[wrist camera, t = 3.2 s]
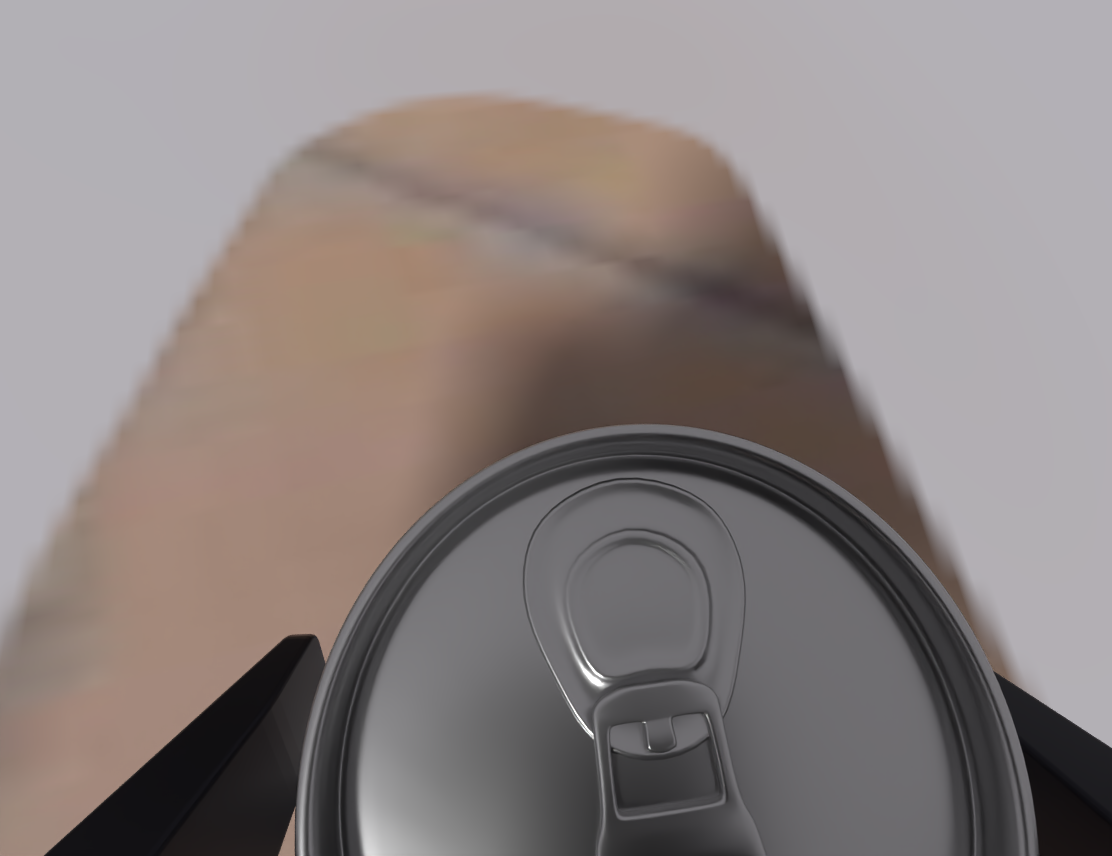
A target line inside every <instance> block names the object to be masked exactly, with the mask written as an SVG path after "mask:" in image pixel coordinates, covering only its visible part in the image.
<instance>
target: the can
mask: <svg viewBox="0 0 1112 856" xmlns="http://www.w3.org/2000/svg"><path fill="white" fill-rule="evenodd" d="M295 856H1039V846H1038V835H1037V826H1036V817H1035V811H1034V804H1033V798H1032V793H1031V788H1030V782H1029V777H1028V773H1027V769H1026V765H1025V760H1024V756H1023V753H1022V749H1021V746H1020V742H1019V738H1018V735H1017V732H1016V729H1015V726H1014V723H1013V720H1012V717H1011V714H1010V711H1009V709H1008V706H1007V703H1006V700H1005V698H1004V695H1003V693H1002V690H1001V688H1000V686H999V683H998V681H997V679H996V676H995V674H994V672H993V670H992V668H991V665H990V663H989V661H988V659H987V657H986V655H985V653H984V651H983V649H982V647H981V645H980V644H979V642H978V640H977V638H976V637H975V635H974V633H973V631H972V629H971V628H970V626H969V624H968V623H967V621H966V619H965V618H964V616H963V615H962V613H961V611H960V610H959V608H958V607H957V605H956V604H955V602H954V601H953V599H952V598H951V596H950V595H949V594H948V592H947V591H946V589H945V588H944V587H943V585H942V584H941V583H940V581H939V580H938V579H937V577H936V576H935V575H934V574H933V572H932V571H931V570H930V568H929V567H928V566H927V565H926V564H925V563H924V561H923V560H922V559H921V558H920V557H919V556H918V554H917V553H916V552H915V551H914V550H913V549H912V548H911V547H910V546H909V545H908V544H907V542H906V541H905V540H904V539H903V538H902V537H901V536H900V535H899V534H898V533H897V532H896V531H895V530H894V529H893V528H891V527H890V526H889V525H888V524H887V523H886V522H885V521H884V520H883V519H882V518H881V517H879V516H878V515H877V514H876V513H875V512H874V511H872V510H871V509H870V508H869V507H868V506H866V505H865V504H864V503H863V502H861V501H860V500H859V499H857V498H856V497H855V496H854V495H852V494H851V493H849V492H848V491H847V490H845V489H844V488H842V487H841V486H839V485H838V484H836V483H835V482H833V481H832V480H830V479H829V478H827V477H825V476H824V475H822V474H820V473H819V472H817V471H815V470H814V469H812V468H810V467H808V466H806V465H805V464H803V463H801V462H799V461H797V460H795V459H793V458H791V457H789V456H787V455H784V454H782V453H780V452H778V451H775V450H773V449H770V448H768V447H765V446H763V445H760V444H757V443H755V442H752V441H749V440H746V439H743V438H739V437H736V436H732V435H729V434H724V433H720V432H716V431H711V430H706V429H701V428H695V427H688V426H679V425H669V424H623V425H612V426H604V427H597V428H591V429H586V430H581V431H577V432H572V433H568V434H564V435H561V436H557V437H554V438H551V439H548V440H545V441H542V442H539V443H536V444H534V445H531V446H529V447H526V448H524V449H521V450H519V451H517V452H515V453H512V454H510V455H508V456H506V457H504V458H502V459H500V460H498V461H496V462H495V463H493V464H491V465H489V466H488V467H486V468H484V469H482V470H481V471H479V472H478V473H476V474H475V475H473V476H471V477H470V478H468V479H467V480H466V481H464V482H463V483H461V484H460V485H458V486H457V487H456V488H454V489H453V490H452V491H450V492H449V493H448V494H447V495H445V496H444V497H443V498H442V499H440V500H439V501H438V502H437V503H436V504H435V505H433V506H432V507H431V508H430V509H429V510H428V511H427V512H426V513H425V514H424V515H422V516H421V517H420V518H419V519H418V520H417V521H416V522H415V523H414V524H413V525H412V526H411V527H410V529H409V530H408V531H407V532H406V533H405V534H404V535H403V536H402V537H401V538H400V540H399V541H398V542H397V543H396V544H395V545H394V547H393V548H392V549H391V550H390V552H389V553H388V554H387V555H386V557H385V558H384V559H383V561H382V562H381V563H380V565H379V566H378V567H377V569H376V570H375V571H374V573H373V574H372V576H371V577H370V579H369V580H368V582H367V583H366V585H365V586H364V588H363V590H362V591H361V593H360V594H359V596H358V598H357V599H356V601H355V603H354V605H353V607H352V608H351V610H350V612H349V614H348V616H347V618H346V620H345V622H344V624H343V625H342V627H341V629H340V631H339V634H338V636H337V638H336V640H335V643H334V645H333V647H332V649H331V652H330V654H329V657H328V659H327V662H326V664H325V667H324V670H323V673H322V676H321V678H320V681H319V684H318V687H317V691H316V694H315V697H314V701H313V704H312V708H311V712H310V716H309V720H308V724H307V728H306V733H305V738H304V742H303V748H302V754H301V760H300V767H299V775H298V783H297V795H296V809H295Z"/></svg>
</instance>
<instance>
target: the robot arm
mask: <svg viewBox="0 0 1112 856" xmlns="http://www.w3.org/2000/svg"><path fill="white" fill-rule="evenodd" d="M324 667H325V660H324V657H323V654H322V650H321V647H320V643H319V640H318V638H317V637H316V636H315V635H313V634H298V635H289V636H287V637H286V638H284V639H283V640H282V641H281V642H280V643H278V644H277V645H276V646H275V647H274V648H273V649H272V650H271V651H270V652H268V653H267V654H266V655H265V656H264V657H263V658H262V659H261V660H260V661H259V662H257V663H256V664H255V665H254V666H253V667H252V668H251V669H250V670H249V671H247V672H246V673H245V674H244V675H243V676H242V677H241V678H240V679H239V680H237V681H236V682H235V683H234V684H233V685H232V686H231V687H230V688H229V689H228V690H226V691H225V692H224V693H223V694H222V695H221V696H220V697H219V698H218V699H216V700H215V701H214V702H213V703H212V704H211V705H210V706H209V707H208V708H207V709H205V710H204V711H203V712H202V713H201V714H200V715H199V716H198V717H197V718H195V719H194V720H193V721H192V722H191V723H190V724H189V725H188V726H187V727H186V728H184V729H183V730H182V731H181V732H180V733H179V734H178V735H177V736H176V737H174V738H173V739H172V740H171V741H170V742H169V743H168V744H167V745H166V746H164V747H163V748H162V749H161V750H160V751H159V752H158V753H157V754H156V755H155V756H153V757H152V758H151V759H150V760H149V761H148V762H147V763H146V764H145V765H143V766H142V767H141V768H140V769H139V770H138V771H137V772H136V773H135V774H134V775H132V776H131V777H130V778H129V779H128V780H127V781H126V782H125V783H124V784H122V785H121V786H120V787H119V788H118V789H117V790H116V791H115V792H114V793H112V794H111V795H110V796H109V797H108V798H107V799H106V800H105V801H104V802H103V803H101V804H100V805H99V806H98V807H97V808H96V809H95V810H94V811H93V812H91V813H90V814H89V815H88V816H87V817H86V818H85V819H84V820H83V821H82V822H80V823H79V824H78V825H77V826H76V827H75V828H74V829H73V830H72V831H70V832H69V833H68V834H67V835H66V836H65V837H64V838H63V839H62V840H61V841H59V842H58V843H57V844H56V845H55V846H54V847H53V848H52V849H51V850H49V851H48V852H47V853H46V854H45V855H44V856H278V855H279V852H280V849H281V846H282V843H283V840H284V837H285V835H286V832H287V829H288V826H289V823H290V820H291V817H292V814H293V812H294V809H295V806H296V795H297V783H298V775H299V767H300V760H301V754H302V748H303V742H304V738H305V733H306V728H307V724H308V720H309V716H310V712H311V708H312V704H313V701H314V697H315V694H316V691H317V687H318V684H319V681H320V678H321V676H322V673H323V670H324ZM993 672H994V671H993ZM994 674H995V676H996V679H997V681H998V683H999V686H1000V688H1001V690H1002V693H1003V695H1004V698H1005V700H1006V703H1007V706H1008V709H1009V711H1010V714H1011V717H1012V720H1013V723H1014V726H1015V729H1016V732H1017V735H1018V738H1019V742H1020V746H1021V749H1022V753H1023V756H1024V760H1025V765H1026V769H1027V773H1028V777H1029V782H1030V788H1031V793H1032V798H1033V804H1034V811H1035V817H1036V826H1037V835H1038V846H1039V856H1112V748H1111V747H1109V746H1108V745H1106V744H1105V743H1103V742H1101V741H1100V740H1098V739H1097V738H1095V737H1094V736H1092V735H1091V734H1089V733H1088V732H1086V731H1085V730H1083V729H1081V728H1080V727H1079V726H1077V725H1075V724H1074V723H1072V722H1071V721H1069V720H1068V719H1066V718H1065V717H1063V716H1062V715H1060V714H1058V713H1057V712H1056V711H1054V710H1052V709H1051V708H1049V707H1048V706H1046V705H1045V704H1043V703H1042V702H1040V701H1039V700H1037V699H1036V698H1034V697H1033V696H1031V695H1029V694H1028V693H1026V692H1025V691H1023V690H1022V689H1020V688H1019V687H1017V686H1016V685H1014V684H1013V683H1011V682H1009V681H1008V680H1006V679H1005V678H1003V677H1002V676H1000V675H999V674H997V673H996V672H994Z"/></svg>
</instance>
